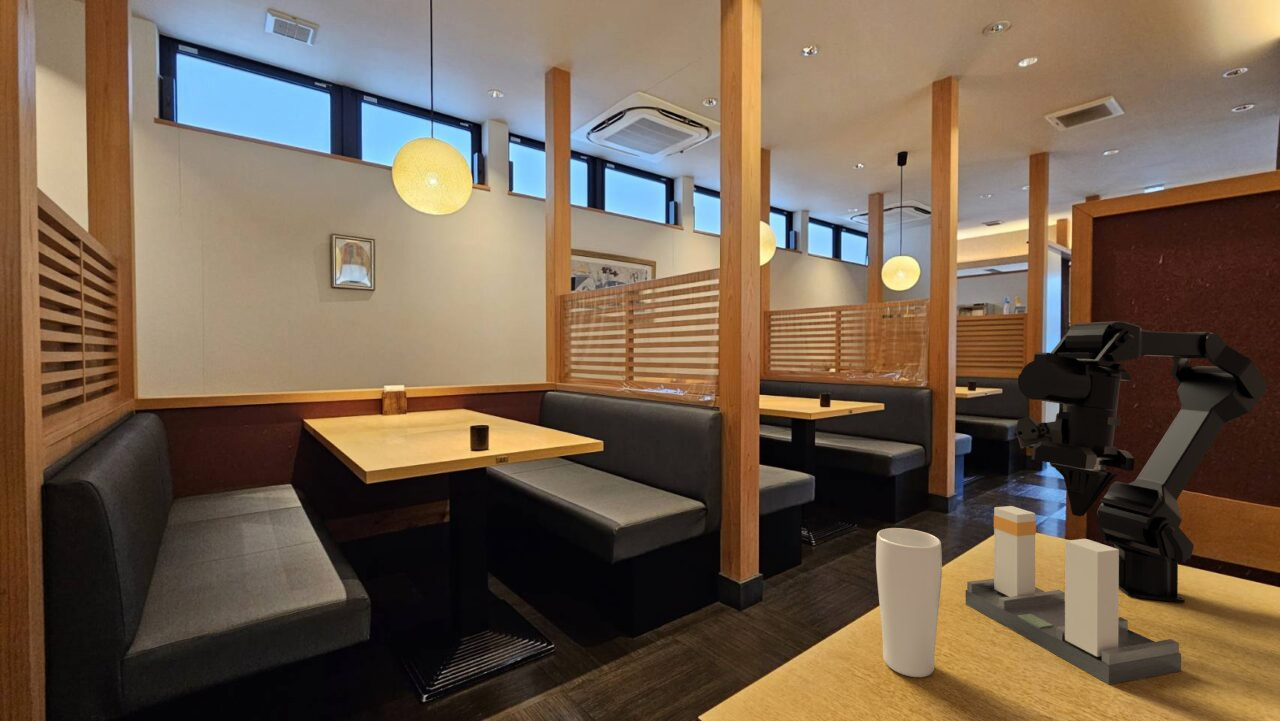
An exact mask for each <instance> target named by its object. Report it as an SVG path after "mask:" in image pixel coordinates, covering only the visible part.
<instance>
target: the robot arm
mask: <svg viewBox="0 0 1280 721" xmlns="http://www.w3.org/2000/svg"><path fill="white" fill-rule="evenodd" d="M1143 356H1145V357H1171V358H1172V360H1173V366H1172V370H1171V376H1172V377H1173V379H1174V380H1175V382H1176V383H1177V384H1178V388H1177V390H1176V393H1177V396H1178V399H1179V402H1180V405H1181V407H1180V410H1179V411H1178V413H1177V415H1176V416H1175V418H1174V419H1173V421H1172V422H1171V424H1170V426H1169V427H1168V428H1167V430H1166V432H1165V434H1164V435H1163V436H1162V438H1161V439H1160V441H1159V443H1158V445H1157V446H1156V448H1154V451H1153V452H1152V454H1151V456H1150V457H1149V458H1148V460H1147V461H1146V463H1145V465H1144V466H1143V468H1142V469H1141V471H1140V473H1139V474H1138V476H1137V477H1136V479H1135V480H1133V481H1131V482H1128V483H1126V482H1121V481H1114V482H1113V483H1111V482H1112V480H1113V479H1114V478H1115V477H1117V475H1118V474H1119V472H1117V471H1112V470H1111V471H1110V470H1106V469H1107V468H1106V467H1111V468H1118V469H1121V470H1123V471H1134V467H1135V458H1136V457H1134V456H1133V455H1132V454H1131V453H1130V452H1129V451H1127V450H1123V449H1118V446H1117V447H1115V446H1113V444H1114V439H1115V437H1114V436H1115V430H1116V426H1119V427H1121V423H1122V419H1121V418H1119V417H1117V411H1118V405H1119V395H1120V388H1121V386H1120V385H1121V381H1123V382H1125V381H1127V382H1129V381H1130V382H1131V381H1132V380H1133V378H1132V375H1131V374H1130V372H1128V371H1127V370H1126V369H1125V368H1124V367H1123V366H1122V364H1121V363H1124V362H1128V361H1132V360H1138V359H1139V358H1141V357H1143ZM1189 359H1201V360H1202V359H1205V360H1206V359H1207V360H1208V361H1209V363H1210V364H1212V365H1213V366H1210V365H1209V366H1204V365H1203V366H1202V365H1200V366H1193V365H1192V364H1191V363H1190V361H1189ZM1017 386H1018V390H1019V391H1020V393H1021V394H1022V395H1023V396H1024V397H1026V398H1027V399H1028V400H1029V399H1030V400H1034V401H1041V402H1047V403H1053V404H1054V403H1055V404H1062V405H1065V406H1064V411H1060V410H1059V412H1057V413H1056V416H1055V421H1048V422H1044V421H1043V422H1038V421H1037V420H1036V419H1035V418H1033V417H1029V416H1028V417H1023V418H1018V419H1017V422H1016V426H1014V427H1013V428H1014V432H1012V437H1014V438H1016V439H1017V440H1018V442H1019V447H1020V448H1021V449H1025V448H1028V449H1029V450H1030V449H1031V450H1032V453H1031V460H1034V461H1040V462H1044V463H1048V464H1049V465H1050V466H1051V467H1053V468H1054V469H1055V470H1056V471H1057V472H1058V473H1059V474H1060V475H1061V476H1062V478H1063V481H1064V484H1065V488H1066V492H1067V497H1068V501H1069V506H1070V511H1071V514H1072V516H1077V517H1084V516H1085V515H1086V513H1087V512H1088V511H1089V509H1090V508H1091V507H1092V505H1093V504H1094V503H1095V502H1096V500H1097V499H1098V498H1099V496H1100V495H1101V494H1102V493H1103V491H1104V490H1105V489H1106V488H1107V487H1108V485H1109V484H1110V483H1111V484H1110V485H1109V488H1108V490H1107V491H1106V493H1105V495H1104V496H1103V497H1102V498H1100V500H1099V503H1101V504H1100V505H1099V507H1098V508H1097V511H1096V520H1097V522H1098V526H1099V529H1100V532H1101V536H1102V540H1103V542H1104V543H1106V544H1111V545H1114V548H1116V549H1119V590H1121V591H1122V592H1124V593H1125V594H1126V595H1127V596H1129V597H1132V598H1140V599H1149V600H1156V601H1157V600H1159V601H1167V602H1172V603H1173V602H1175V603H1182V604H1184V603H1185V602H1186V601H1185V600H1186V599H1185V598H1184V597H1183V596H1182V595H1180V594H1179V593H1178V591H1179V588H1178V587H1179V586H1178V584H1179V583H1178V581H1179V563H1180V564H1181V563H1182V564H1183V563H1187V560H1190V559H1192V555H1193V550H1194V546H1195V545H1194V544H1193V542H1192V541H1191V540H1190V538H1189V537H1188V536H1187V535H1186V534H1185V533H1184V531H1183V530H1182V529H1181V528H1180V525H1181V523H1182V520H1183V518H1182V515H1181V511H1180V507H1179V504H1178V500H1179V497H1180V496H1181V494H1182V492H1183V491H1184V489H1185V487H1186V486H1187V484H1188V482H1189V481H1190V479H1191V477H1192V476H1193V474H1195V471H1196V469H1197V468H1198V466H1199V465H1200V463H1201V462H1202V460H1203V459H1204V457H1205V455H1206V454H1207V452H1208V450H1209V449H1210V447H1211V445H1212V444H1213V443H1214V441H1215V439H1216V438H1217V436H1218V435H1219V433H1220V432H1221V429H1222V428H1223V427H1224V425H1225V424H1226V423H1230V422H1231V421H1234V420H1236V419H1238V418H1240V417H1243V416H1244V415H1246V414H1248V413H1250V411H1252V409H1253V408H1254V406H1256V405H1257V404H1258V403H1259V401H1260V400H1261V398H1262V397H1263V396H1264V395H1265V393H1266V389H1267V382H1266V380H1265V378H1264V376H1263V375H1262V374H1261V372H1260V370H1259V368H1257V366H1256V365H1255V363H1254V362H1253V360H1252V359H1250V358H1249V357H1247V356H1245V355H1243V354H1242V353H1240V352H1238V351H1237V350H1235V349H1233V348H1232V347H1230V346H1228V345H1227V344H1226V342H1225V341H1224V340H1223V338H1222V337H1221V336H1220V335H1219V334H1218V333H1213V332H1210V331H1190V332H1189V331H1187V332H1185V331H1184V332H1183V331H1181V332H1180V331H1179V332H1178V331H1162V330H1161V331H1160V330H1159V331H1158V330H1157V331H1156V330H1146V329H1142V327H1141V326H1139V325H1137V324H1134V323H1130V322H1126V321H1123V320H1117V321H1116V320H1115V321H1099V322H1098V321H1097V322H1079V323H1073V324H1071V325H1070V327H1069V329H1068V330H1067V333H1065V335H1064V336H1063V337H1062V338H1061V339H1060V341H1059V342H1058V343H1057V345H1056V346H1054V348H1053V350H1052V351H1051V352H1035V353H1034V358H1033V360H1031V361H1030V362H1028V363H1027V364H1026V365H1025V366H1024V367H1023V369H1022V370H1021V372H1020V374H1018V377H1017Z"/></svg>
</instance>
